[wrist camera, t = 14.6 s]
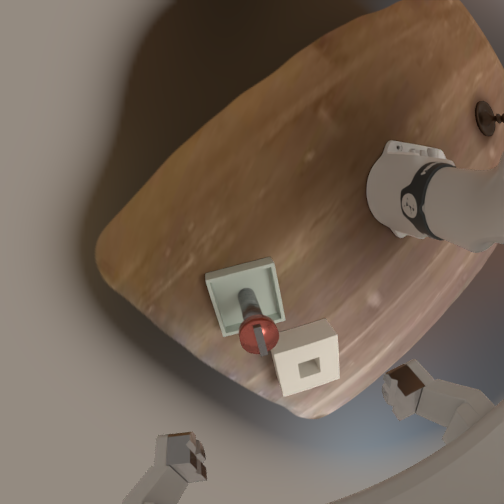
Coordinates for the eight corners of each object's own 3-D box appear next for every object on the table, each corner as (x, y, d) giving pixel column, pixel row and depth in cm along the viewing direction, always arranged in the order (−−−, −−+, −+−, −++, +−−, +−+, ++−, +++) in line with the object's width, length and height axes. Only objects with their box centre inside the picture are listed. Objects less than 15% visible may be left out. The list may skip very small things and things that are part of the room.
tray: (270, 256, 48) (274, 262, 45) (281, 312, 52) (285, 320, 49) (205, 273, 47) (205, 280, 44) (222, 327, 51) (223, 336, 48)
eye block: (325, 318, 54) (337, 334, 48) (329, 361, 58) (339, 378, 52) (266, 335, 53) (273, 354, 47) (277, 377, 57) (283, 396, 51)
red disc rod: (264, 304, 50) (283, 351, 37) (235, 312, 49) (246, 361, 36) (257, 278, 48) (276, 320, 35) (227, 286, 48) (236, 331, 35)
